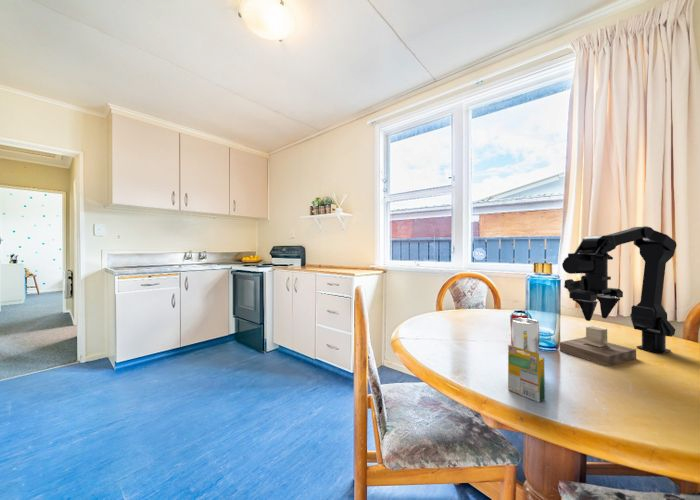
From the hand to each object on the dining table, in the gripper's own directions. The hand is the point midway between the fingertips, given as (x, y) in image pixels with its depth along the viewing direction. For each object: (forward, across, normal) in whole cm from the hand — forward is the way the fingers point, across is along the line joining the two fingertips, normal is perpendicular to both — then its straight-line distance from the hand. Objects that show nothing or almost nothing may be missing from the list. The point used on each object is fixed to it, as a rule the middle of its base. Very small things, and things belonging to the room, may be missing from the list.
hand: (596, 319), depth 94 cm
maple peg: (+12, 0, 0) cm, 12 cm away
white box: (+12, +34, 0) cm, 36 cm away
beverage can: (+12, +17, -15) cm, 26 cm away
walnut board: (+12, 0, 0) cm, 12 cm away
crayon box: (+12, +46, +9) cm, 48 cm away
